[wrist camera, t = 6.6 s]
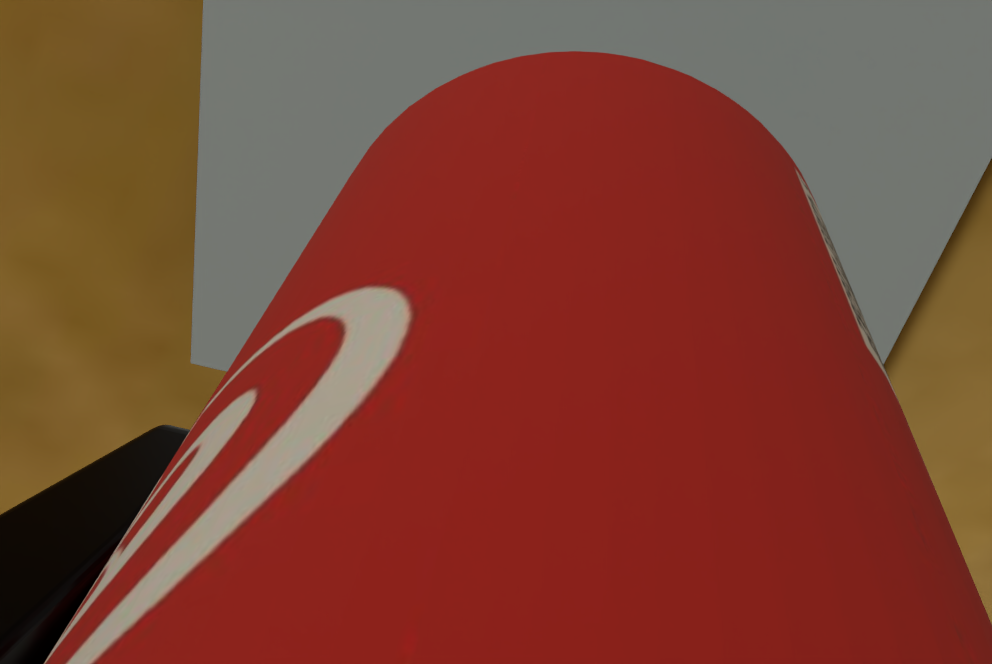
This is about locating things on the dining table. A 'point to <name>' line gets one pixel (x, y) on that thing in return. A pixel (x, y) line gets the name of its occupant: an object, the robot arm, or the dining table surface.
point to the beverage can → (550, 415)
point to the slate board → (608, 29)
